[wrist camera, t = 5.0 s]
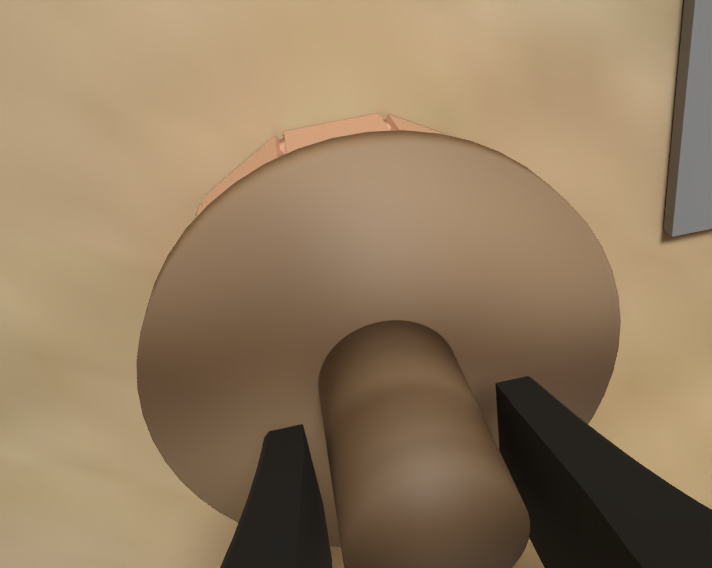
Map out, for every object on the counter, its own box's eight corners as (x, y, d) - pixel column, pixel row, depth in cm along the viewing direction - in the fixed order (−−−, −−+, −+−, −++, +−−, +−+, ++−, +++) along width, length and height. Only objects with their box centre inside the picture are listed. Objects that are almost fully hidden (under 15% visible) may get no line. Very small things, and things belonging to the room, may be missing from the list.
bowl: (532, 390, 19) (579, 470, 16) (231, 455, 19) (228, 548, 16) (525, 85, 15) (588, 123, 12) (132, 160, 14) (104, 218, 12)
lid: (578, 486, 17) (688, 675, 12) (193, 548, 16) (172, 773, 12) (630, 102, 12) (834, 202, 8) (84, 162, 11) (-15, 309, 7)
